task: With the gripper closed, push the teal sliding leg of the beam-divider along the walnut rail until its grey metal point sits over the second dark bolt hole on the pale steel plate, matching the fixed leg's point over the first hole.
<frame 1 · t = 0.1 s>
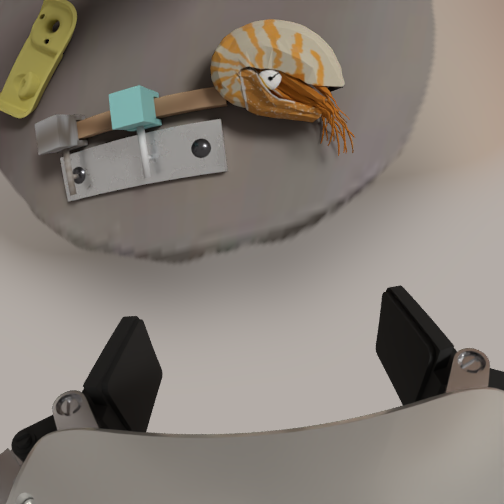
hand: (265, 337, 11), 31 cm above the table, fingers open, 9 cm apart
nautilus: (288, 95, 35), on the table, touching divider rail
plastic component: (45, 59, 31), on the table
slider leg: (140, 134, 33), point 4 cm above the table, slide at 1.5 cm
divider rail: (137, 114, 35), on the table
bolt plate: (137, 160, 38), on the table
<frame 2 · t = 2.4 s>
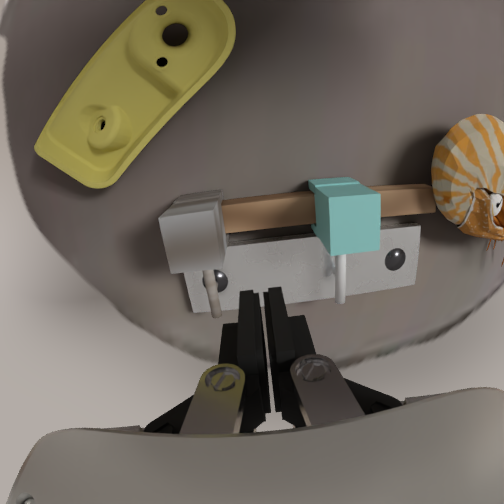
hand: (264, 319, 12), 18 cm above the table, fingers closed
nautilus: (473, 197, 27), on the table, touching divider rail
plastic component: (140, 86, 24), on the table
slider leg: (342, 248, 25), point 4 cm above the table, slide at 1.5 cm
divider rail: (314, 203, 28), on the table
bolt plate: (307, 265, 30), on the table
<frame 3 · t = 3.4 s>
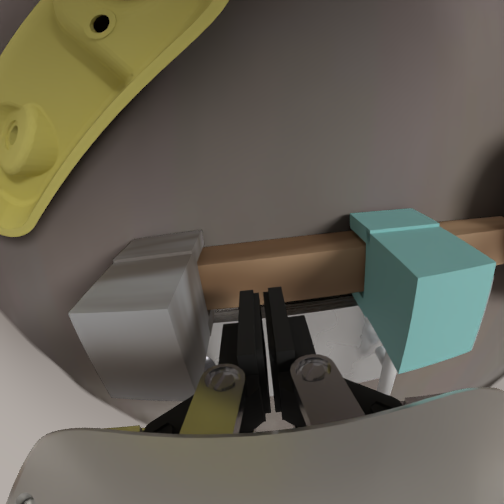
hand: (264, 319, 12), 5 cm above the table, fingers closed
plastic component: (80, 69, 13), on the table
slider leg: (401, 333, 14), point 4 cm above the table, slide at 1.5 cm
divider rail: (356, 250, 16), on the table
bolt plate: (337, 340, 19), on the table
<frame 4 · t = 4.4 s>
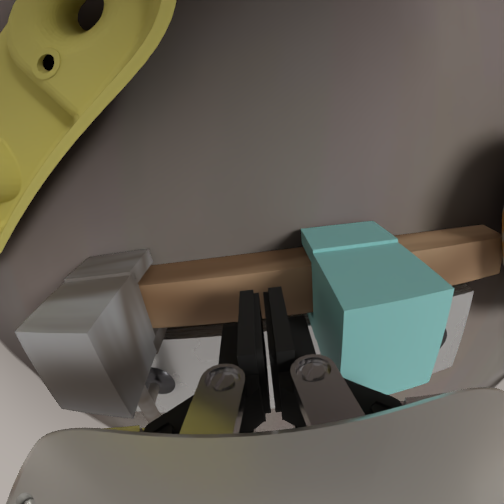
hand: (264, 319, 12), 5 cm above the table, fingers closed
plastic component: (43, 98, 12), on the table
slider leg: (357, 356, 13), point 4 cm above the table, slide at 1.5 cm, touching gripper
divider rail: (311, 267, 16), on the table
bolt plate: (298, 358, 18), on the table
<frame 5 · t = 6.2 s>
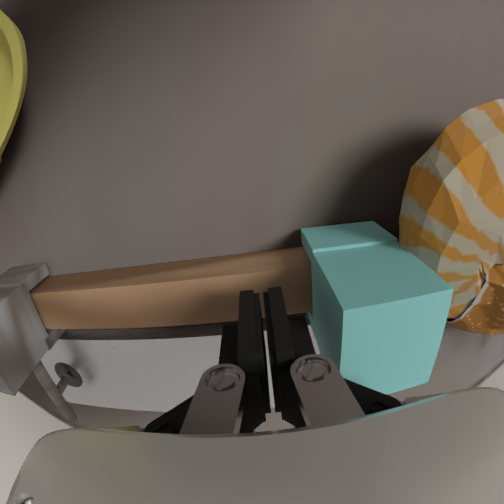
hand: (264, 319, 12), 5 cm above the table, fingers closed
nautilus: (480, 250, 16), on the table, touching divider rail, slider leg
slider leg: (356, 356, 13), point 4 cm above the table, slide at 9.2 cm, touching gripper, nautilus
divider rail: (173, 282, 16), on the table
bolt plate: (183, 368, 19), on the table
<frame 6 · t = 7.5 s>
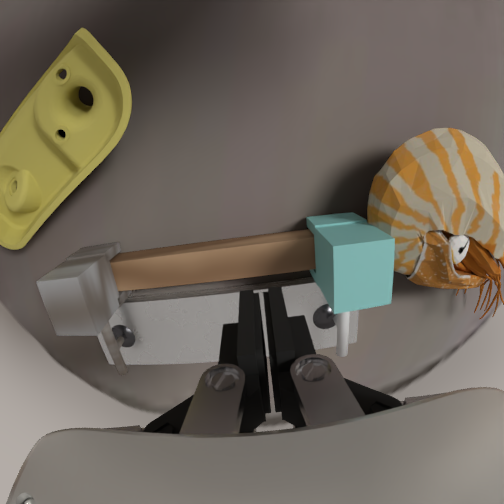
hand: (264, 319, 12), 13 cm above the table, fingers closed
nautilus: (437, 234, 25), on the table, touching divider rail, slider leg
plastic component: (56, 146, 21), on the table
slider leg: (345, 298, 21), point 4 cm above the table, slide at 9.3 cm, touching nautilus
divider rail: (219, 254, 24), on the table
bolt plate: (220, 323, 26), on the table
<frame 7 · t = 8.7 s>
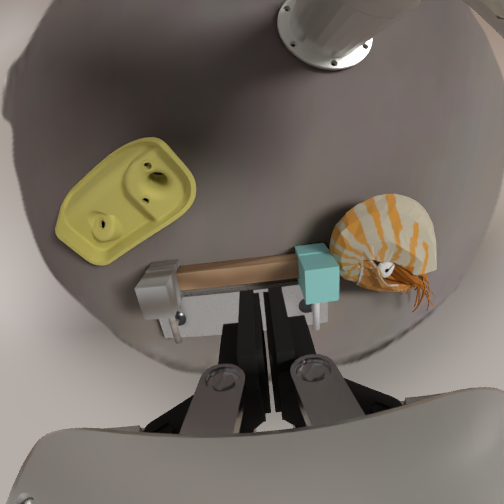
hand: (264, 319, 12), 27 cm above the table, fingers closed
nautilus: (383, 254, 40), on the table, touching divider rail, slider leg
plastic component: (131, 197, 37), on the table
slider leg: (316, 295, 38), point 4 cm above the table, slide at 9.3 cm, touching nautilus
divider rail: (242, 267, 41), on the table
bolt plate: (241, 308, 43), on the table
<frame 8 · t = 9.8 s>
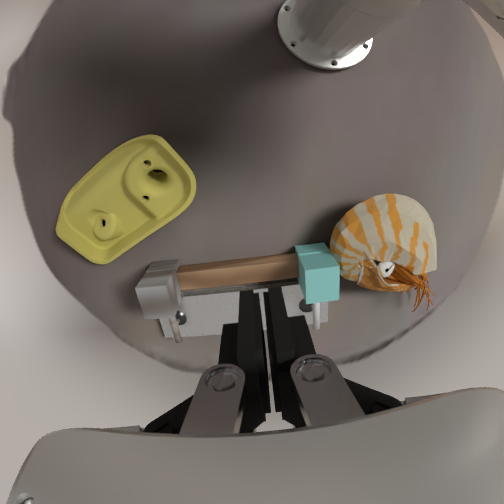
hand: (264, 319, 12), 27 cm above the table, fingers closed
nautilus: (384, 254, 40), on the table, touching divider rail, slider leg
plastic component: (132, 195, 37), on the table
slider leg: (316, 294, 38), point 4 cm above the table, slide at 9.3 cm, touching nautilus
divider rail: (242, 267, 41), on the table
bolt plate: (241, 308, 43), on the table
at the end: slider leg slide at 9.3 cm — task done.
